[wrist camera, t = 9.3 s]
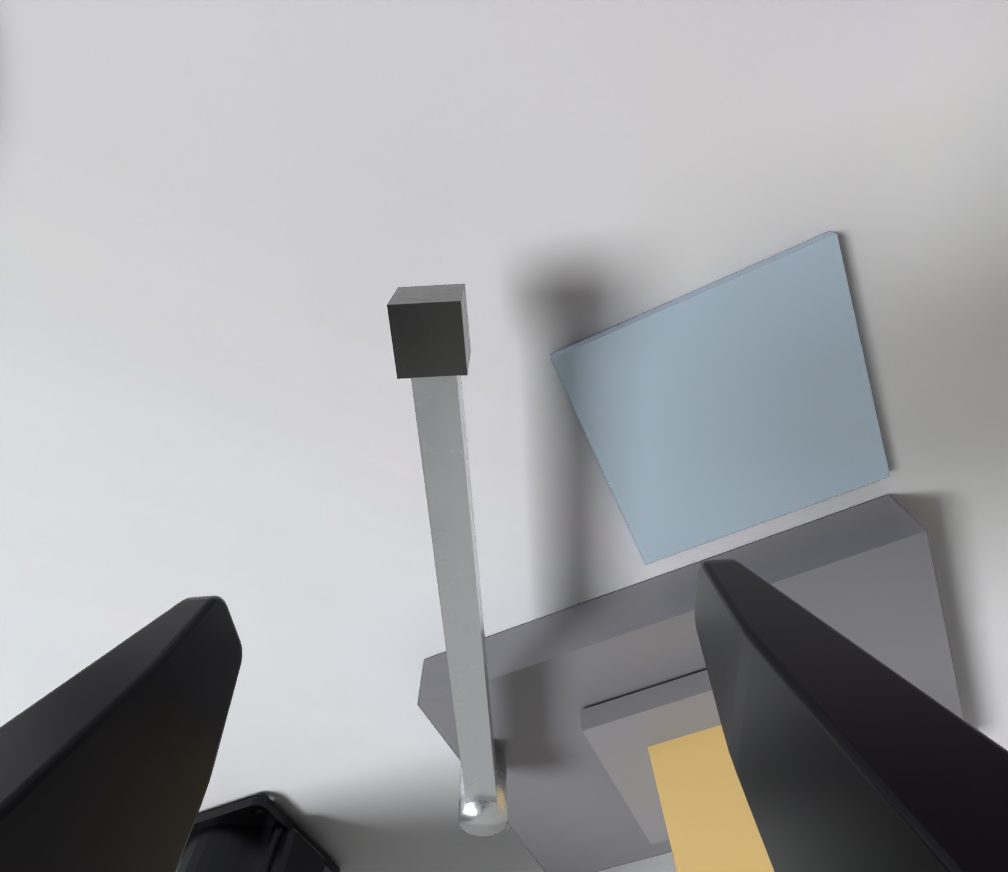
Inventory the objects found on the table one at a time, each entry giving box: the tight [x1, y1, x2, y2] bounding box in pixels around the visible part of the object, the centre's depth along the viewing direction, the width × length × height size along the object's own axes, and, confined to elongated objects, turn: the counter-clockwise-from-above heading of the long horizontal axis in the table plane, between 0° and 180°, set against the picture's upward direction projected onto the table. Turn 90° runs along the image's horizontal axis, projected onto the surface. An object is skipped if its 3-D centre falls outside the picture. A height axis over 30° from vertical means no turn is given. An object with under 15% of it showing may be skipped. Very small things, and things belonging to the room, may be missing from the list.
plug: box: [580, 670, 774, 872], centre depth 20 cm, size 7×7×8 cm
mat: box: [550, 231, 890, 565], centre depth 18 cm, size 8×8×1 cm
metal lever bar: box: [387, 284, 507, 837], centre depth 18 cm, size 18×2×2 cm, turn 3°
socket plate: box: [417, 495, 964, 872], centre depth 23 cm, size 17×12×2 cm
